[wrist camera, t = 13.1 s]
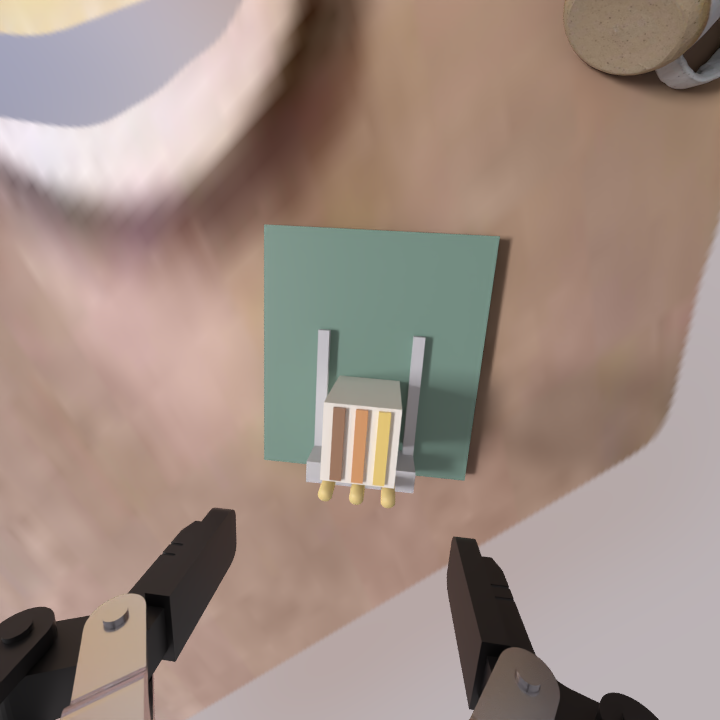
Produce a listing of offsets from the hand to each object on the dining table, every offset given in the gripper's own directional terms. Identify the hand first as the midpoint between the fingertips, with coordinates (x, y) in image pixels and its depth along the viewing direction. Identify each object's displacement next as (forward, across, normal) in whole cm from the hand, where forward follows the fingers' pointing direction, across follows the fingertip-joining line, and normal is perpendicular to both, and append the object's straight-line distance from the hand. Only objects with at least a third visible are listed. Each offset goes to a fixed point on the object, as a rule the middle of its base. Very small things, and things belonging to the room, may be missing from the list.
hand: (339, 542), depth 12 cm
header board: (+15, 0, -4) cm, 15 cm away
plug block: (+14, 0, 0) cm, 14 cm away
